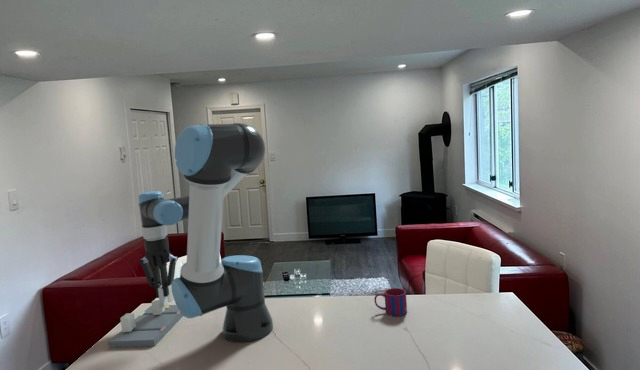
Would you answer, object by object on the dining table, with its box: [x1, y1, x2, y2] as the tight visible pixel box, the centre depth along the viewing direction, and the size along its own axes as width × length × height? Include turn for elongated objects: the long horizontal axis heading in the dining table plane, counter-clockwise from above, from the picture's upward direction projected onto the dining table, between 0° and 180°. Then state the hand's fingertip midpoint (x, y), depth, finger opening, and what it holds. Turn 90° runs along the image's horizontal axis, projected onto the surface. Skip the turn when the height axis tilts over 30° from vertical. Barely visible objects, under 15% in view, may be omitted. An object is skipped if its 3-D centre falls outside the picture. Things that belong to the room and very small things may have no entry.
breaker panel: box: [108, 304, 184, 349], centre depth 137 cm, size 26×14×2 cm, turn 175°
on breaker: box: [120, 312, 136, 332], centre depth 131 cm, size 4×2×4 cm
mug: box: [374, 287, 408, 318], centre depth 134 cm, size 7×10×7 cm
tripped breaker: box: [151, 297, 165, 315], centre depth 143 cm, size 4×2×4 cm
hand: (164, 305), depth 143 cm, fingers closed
